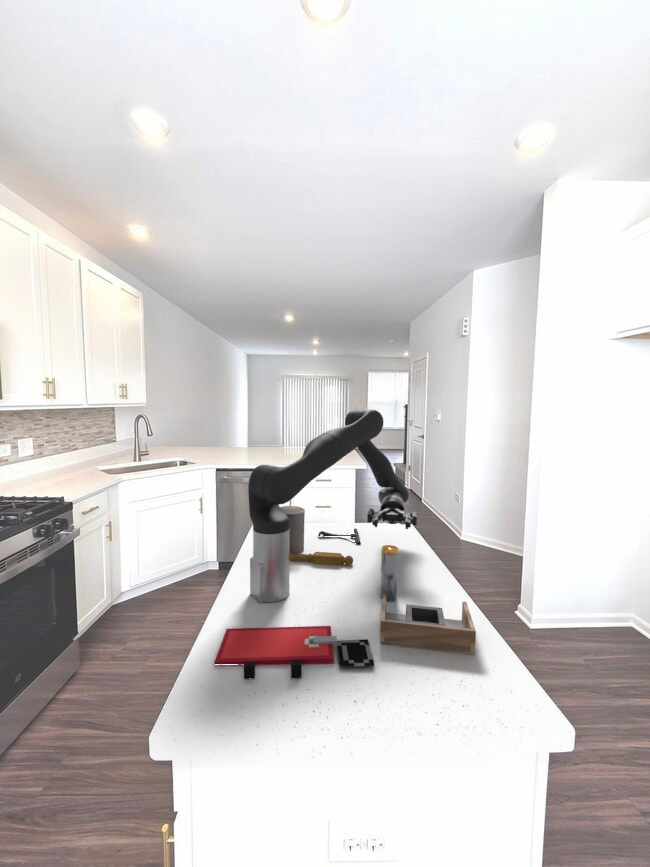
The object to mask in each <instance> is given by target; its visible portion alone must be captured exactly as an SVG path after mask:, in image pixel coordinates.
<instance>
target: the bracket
mask: <svg viewBox="0 0 650 867" xmlns="http://www.w3.org/2000/svg"><path fill="white" fill-rule="evenodd" d="M353 530H354V533H355V534H351V535H343V534H336V533H330V532H327V531H323V530H321V531H319V532H318V535H317V537H318V536H351V537H355V538H354V539H355V542H354V543H356V544H357V545H358V544H359V543H360V544H361V538H360V535H359V530H358V529H357V528H354V529H353ZM357 530H358V531H357ZM354 543H353V544H354ZM356 544H355V545H356ZM360 544H359V545H360Z"/></svg>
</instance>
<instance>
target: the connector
mask: <svg viewBox="0 0 650 867" xmlns="http://www.w3.org/2000/svg"><path fill="white" fill-rule="evenodd" d="M398 552H399V548H398V547H397V546H395V545H391V544H385V545H382V547H381V563H380V564H381V565H380V567H381V568H380V570H381V571H380V599H381V600H383V594H386V602H389V603H390V602H391V603H392V602H395V601H396V600H397V599H398V598H397V597H398V596H397V593H398V592H397V591H398V590H397V589H398V561H399V560H398V559H399V557H398V556H399V555H398V554H399V553H398Z"/></svg>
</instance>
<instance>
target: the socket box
mask: <svg viewBox="0 0 650 867" xmlns="http://www.w3.org/2000/svg"><path fill="white" fill-rule="evenodd" d="M381 600H382V599H381ZM461 603H462V605H461V606H462V607H461V619H453V618H452V619H451V618H445V616H444V610H443V607H437V606H428V605H427V606H426V605H417V604H416V605H415V604H408V603H407V604H405V614H404V613H396V612H395V613H394V612H387V601H386V594H383V600H382V603H381V613H380V631H379V632H380V635H379V637H380V638H379V645H380V644H381V645H390V646H396V647H398V646H399V647H406V648H414V649H422V650H431V651H438V652H446V653H454V654H455V653H456V654H463V655H471V656H475V655H476V640H477V639H476V638H477V630H476V628H475V625H474V621H473V618H472V615H471V612H470V608H469V605H468V602H467V601H462V602H461Z"/></svg>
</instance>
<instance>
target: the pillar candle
mask: <svg viewBox="0 0 650 867" xmlns="http://www.w3.org/2000/svg"><path fill="white" fill-rule="evenodd" d="M279 507H280V508H281V510H282V511H283V512H284V513H285V514H286V515H287V516H288V517H289V521H290V553H299V554H302V553H303V552H304V550H305V547H304V546H305V517H306V516H305V512H306V511H305V508H303V507H301V506H299V505H298V506H297V505H283V506H279Z"/></svg>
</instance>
